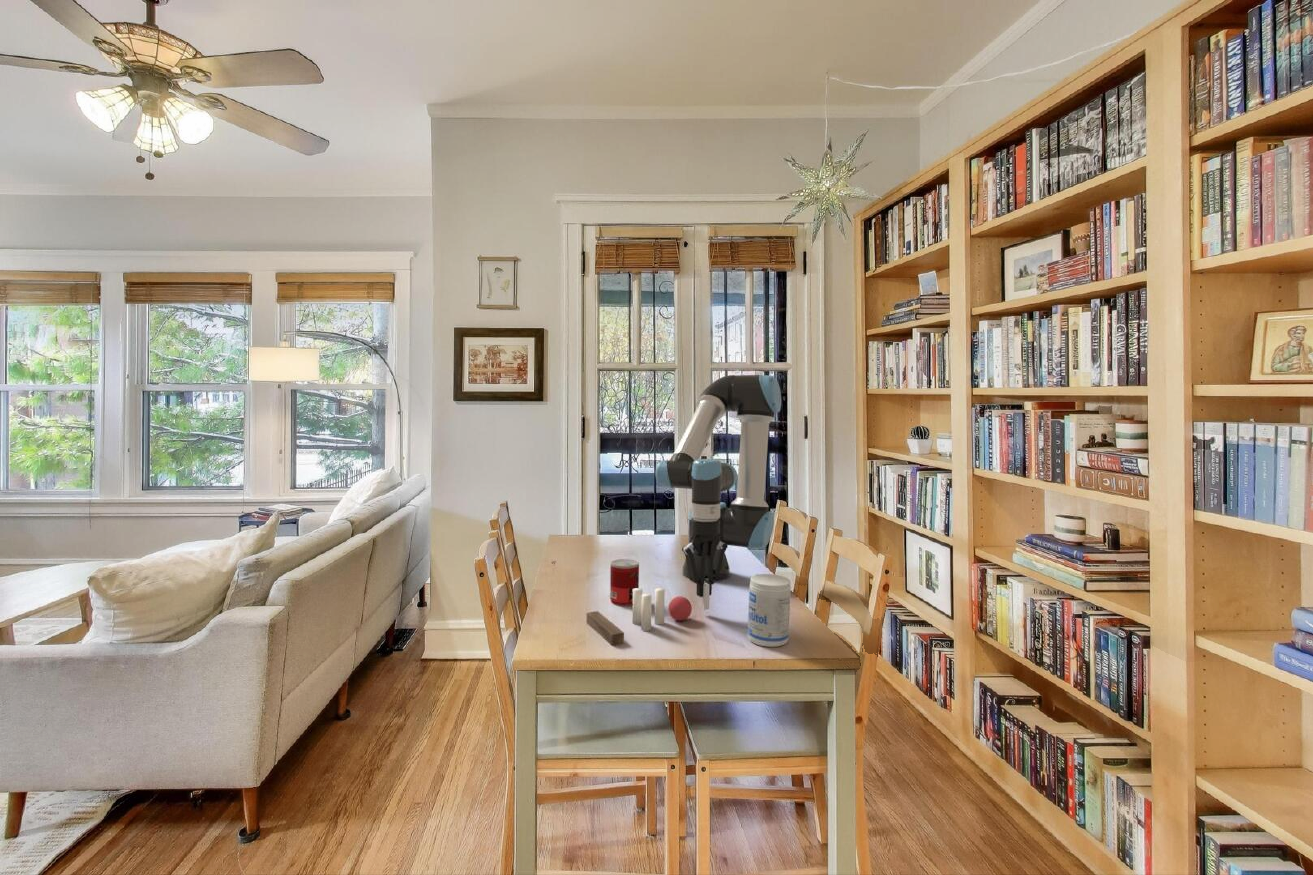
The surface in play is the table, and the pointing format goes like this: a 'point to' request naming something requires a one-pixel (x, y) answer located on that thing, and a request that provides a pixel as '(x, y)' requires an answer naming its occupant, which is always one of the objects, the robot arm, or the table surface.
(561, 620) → the table surface
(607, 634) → the brown wooden bar
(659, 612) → the front pin
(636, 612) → the pin
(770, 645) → the supplement tub
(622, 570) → the canned food
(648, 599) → the pin
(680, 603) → the ball
